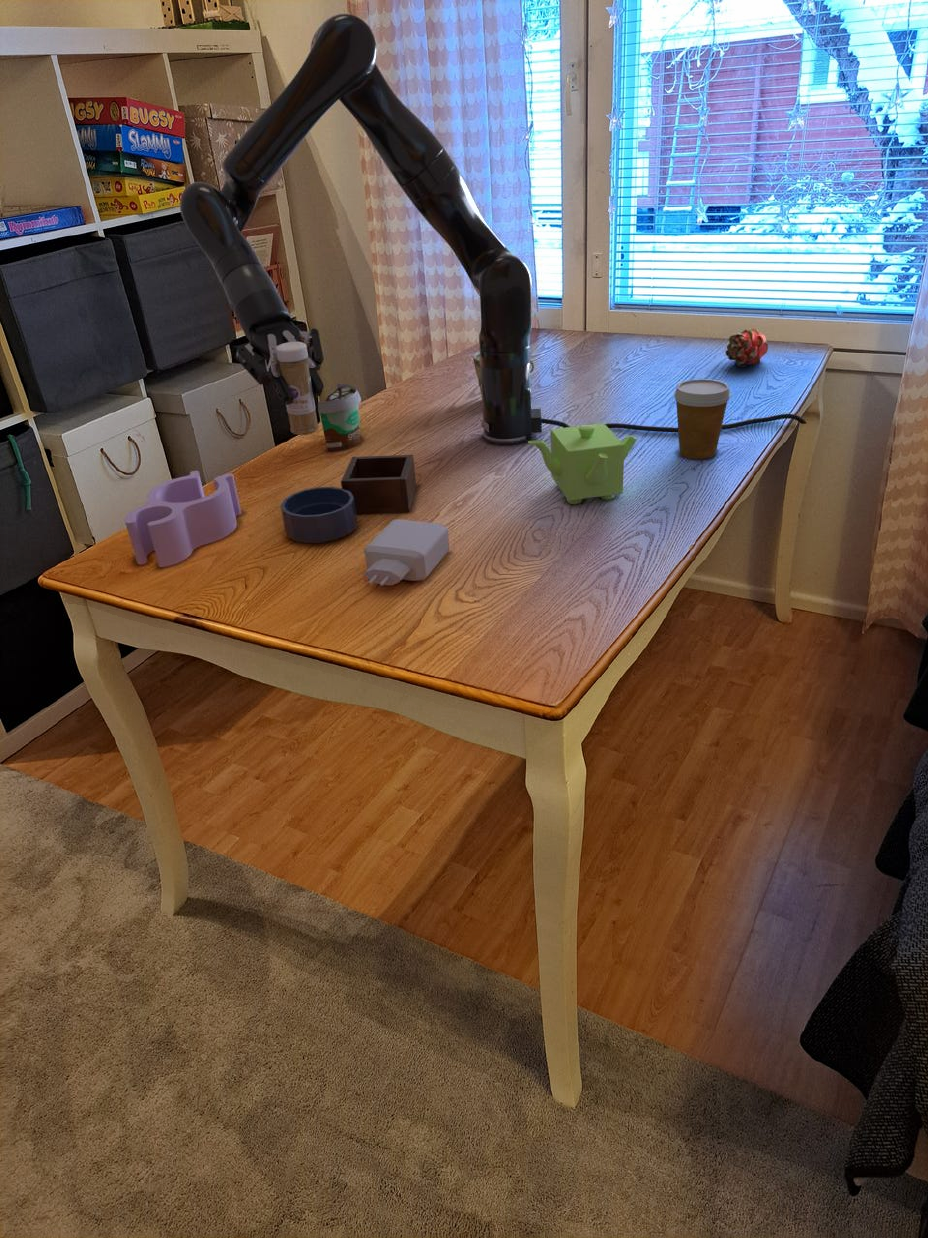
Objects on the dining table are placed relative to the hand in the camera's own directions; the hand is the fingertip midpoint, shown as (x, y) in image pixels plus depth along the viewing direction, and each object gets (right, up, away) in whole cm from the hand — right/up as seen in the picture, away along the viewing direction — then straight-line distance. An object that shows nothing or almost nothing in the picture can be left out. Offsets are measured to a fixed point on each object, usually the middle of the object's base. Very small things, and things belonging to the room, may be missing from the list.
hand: (304, 397), depth 134 cm
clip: (-20, -21, +6) cm, 29 cm away
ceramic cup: (+33, +12, +54) cm, 64 cm away
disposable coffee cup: (+66, -4, +22) cm, 70 cm away
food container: (+2, +1, +39) cm, 39 cm away
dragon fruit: (+88, +24, +66) cm, 113 cm away
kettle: (+44, -13, +11) cm, 47 cm away
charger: (+15, -28, -9) cm, 33 cm away
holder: (+10, -14, +14) cm, 22 cm away
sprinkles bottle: (-1, -4, +5) cm, 6 cm away
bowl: (+2, -20, +5) cm, 21 cm away
